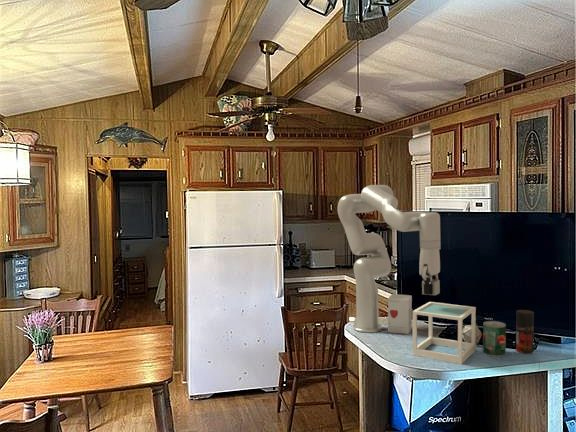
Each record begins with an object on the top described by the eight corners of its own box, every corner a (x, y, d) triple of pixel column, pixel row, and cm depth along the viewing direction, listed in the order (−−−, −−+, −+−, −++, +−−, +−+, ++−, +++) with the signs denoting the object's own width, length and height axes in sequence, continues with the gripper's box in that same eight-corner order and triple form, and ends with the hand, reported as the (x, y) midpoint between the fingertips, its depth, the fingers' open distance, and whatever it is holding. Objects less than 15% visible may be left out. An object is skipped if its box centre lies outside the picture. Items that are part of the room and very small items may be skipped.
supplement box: (387, 332, 219) (387, 297, 218) (391, 327, 227) (391, 293, 226) (408, 334, 215) (408, 299, 214) (412, 328, 224) (412, 294, 223)
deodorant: (512, 350, 193) (512, 310, 192) (524, 347, 195) (524, 309, 194) (525, 354, 188) (525, 314, 187) (537, 352, 190) (537, 312, 189)
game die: (473, 352, 203) (484, 330, 205) (478, 351, 194) (490, 328, 196) (452, 339, 205) (464, 318, 207) (457, 338, 197) (469, 316, 199)
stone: (422, 294, 194) (421, 280, 193) (427, 291, 198) (426, 279, 197) (435, 295, 191) (434, 281, 190) (439, 293, 195) (439, 279, 194)
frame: (412, 355, 189) (412, 311, 188) (429, 342, 204) (429, 301, 203) (461, 364, 179) (461, 317, 178) (475, 350, 193) (475, 307, 192)
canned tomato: (507, 357, 185) (507, 327, 185) (483, 355, 187) (484, 326, 187) (504, 350, 193) (504, 321, 192) (481, 348, 195) (482, 320, 194)
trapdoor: (418, 313, 189) (418, 311, 189) (431, 305, 201) (431, 303, 201) (457, 320, 181) (457, 317, 181) (469, 311, 192) (469, 309, 192)
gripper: (428, 242, 202) (429, 288, 203) (411, 247, 189) (412, 295, 189) (447, 243, 198) (448, 289, 199) (431, 247, 184) (432, 297, 185)
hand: (431, 292), depth 194 cm, fingers closed on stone, 5 cm apart
